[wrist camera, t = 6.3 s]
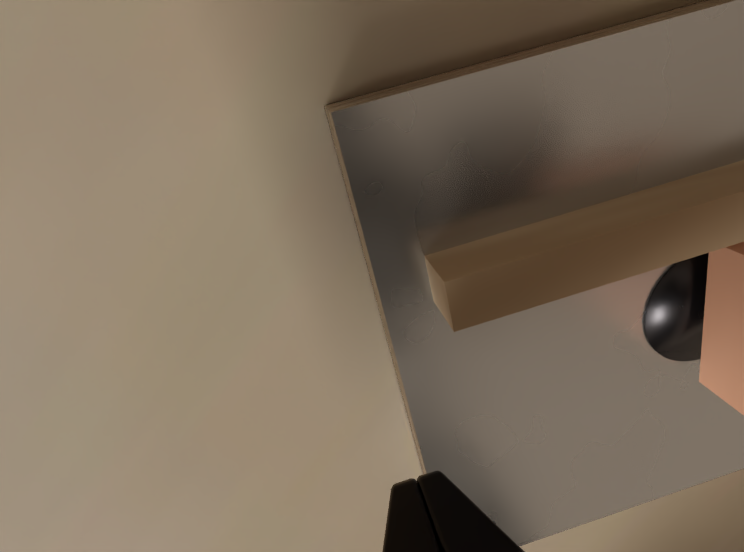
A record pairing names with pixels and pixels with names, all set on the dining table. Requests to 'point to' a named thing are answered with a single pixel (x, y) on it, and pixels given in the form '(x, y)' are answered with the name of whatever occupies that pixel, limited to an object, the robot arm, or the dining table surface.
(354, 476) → the dining table surface
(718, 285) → the slide leg
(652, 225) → the bar
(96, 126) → the dining table surface
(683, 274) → the flange plate
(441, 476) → the robot arm
